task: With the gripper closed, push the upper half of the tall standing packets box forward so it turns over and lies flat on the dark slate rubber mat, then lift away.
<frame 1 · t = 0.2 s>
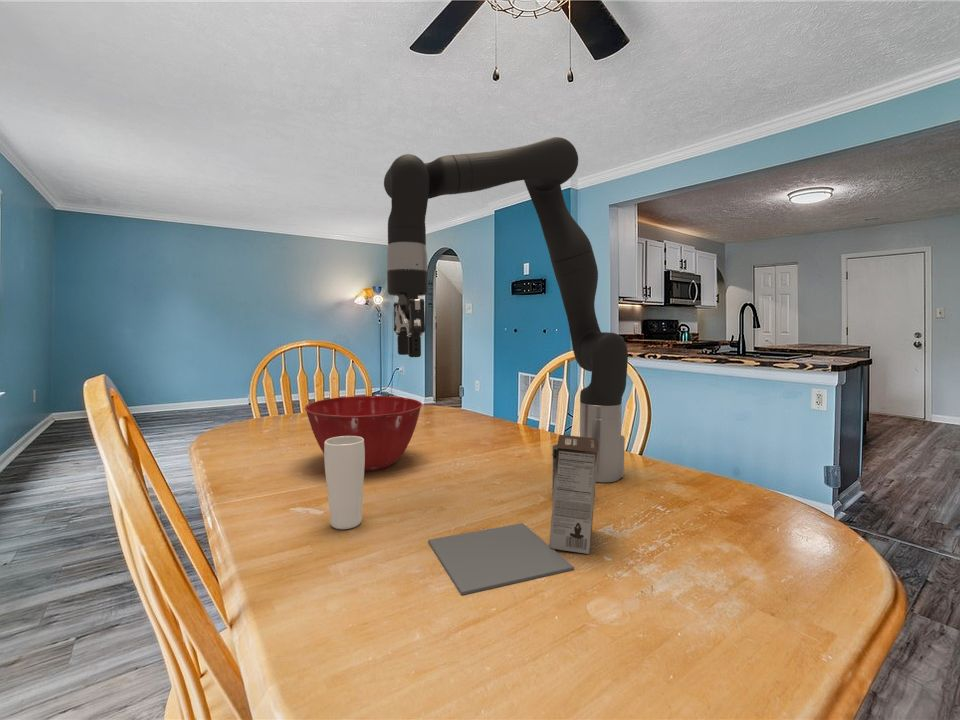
hand: (408, 355, 88), 29 cm above the table, fingers open, 8 cm apart
mixing bowl: (366, 464, 118), on the table
supplement container: (568, 499, 94), on the table
slate mat: (496, 555, 70), on the table
coffee box: (569, 540, 75), on the table, touching slate mat
drinking glass: (346, 525, 82), on the table
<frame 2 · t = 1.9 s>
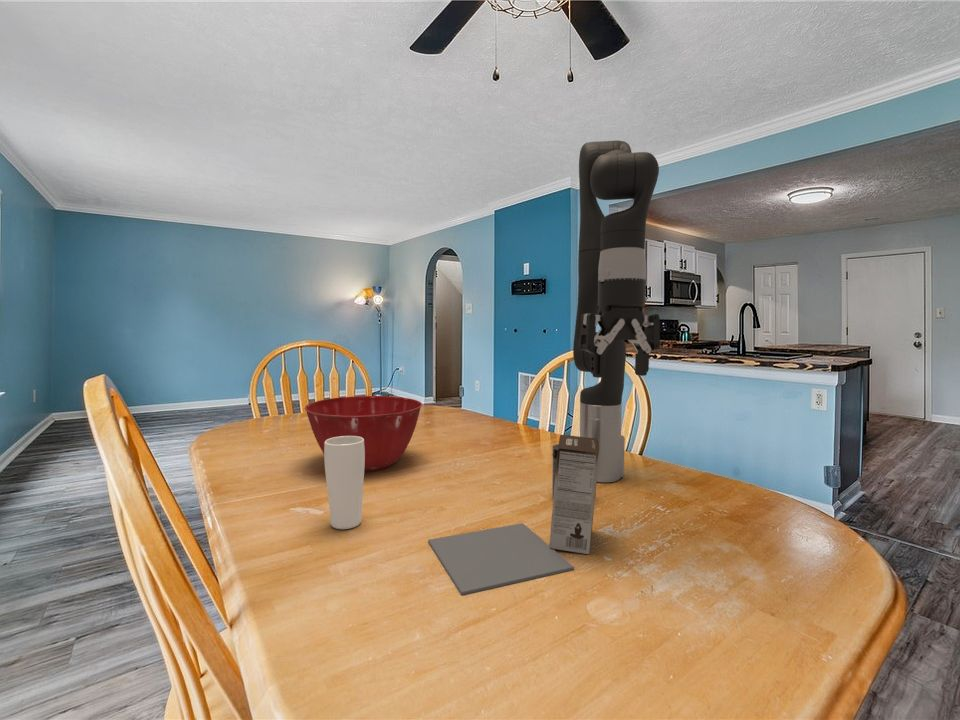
hand: (619, 376, 78), 26 cm above the table, fingers open, 8 cm apart
nothing on the table moved.
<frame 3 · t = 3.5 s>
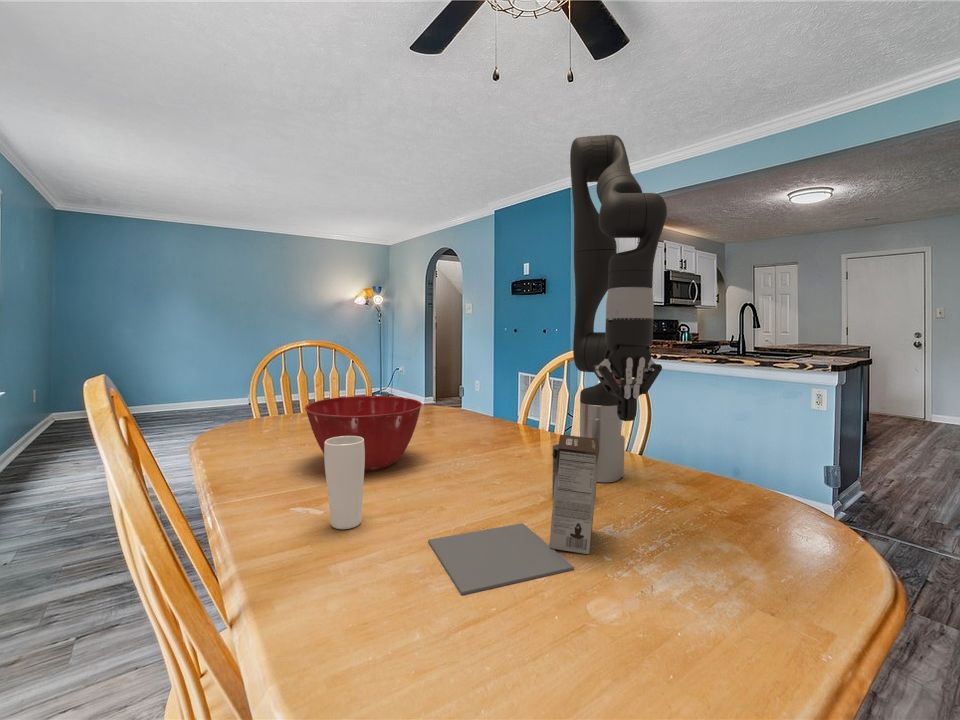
hand: (626, 420, 78), 19 cm above the table, fingers closed
nothing on the table moved.
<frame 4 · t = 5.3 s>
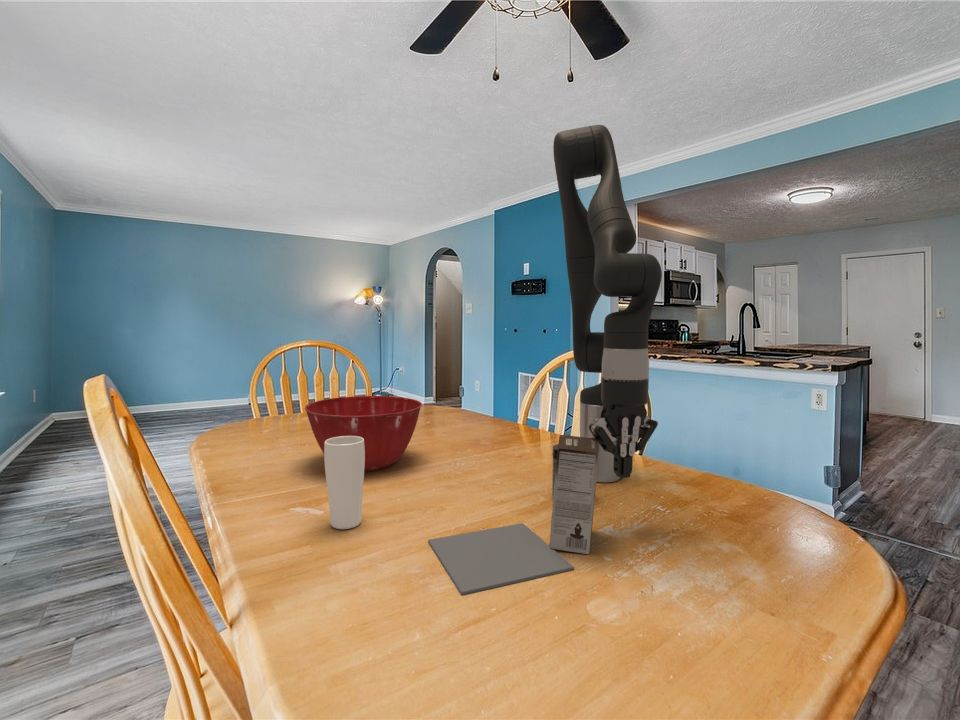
hand: (622, 476, 79), 9 cm above the table, fingers closed
coffee box: (569, 540, 75), on the table, touching hand, slate mat
everything else where it was.
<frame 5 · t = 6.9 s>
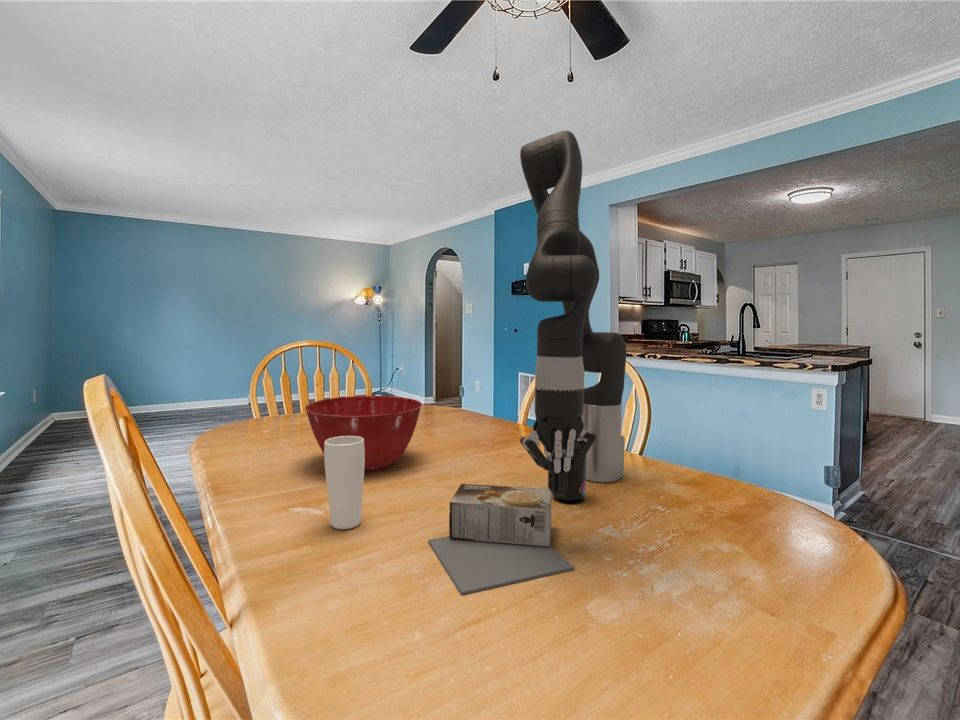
hand: (557, 493, 74), 8 cm above the table, fingers closed
coffee box: (552, 516, 76), point 4 cm above the table, touching slate mat
everything else where it was.
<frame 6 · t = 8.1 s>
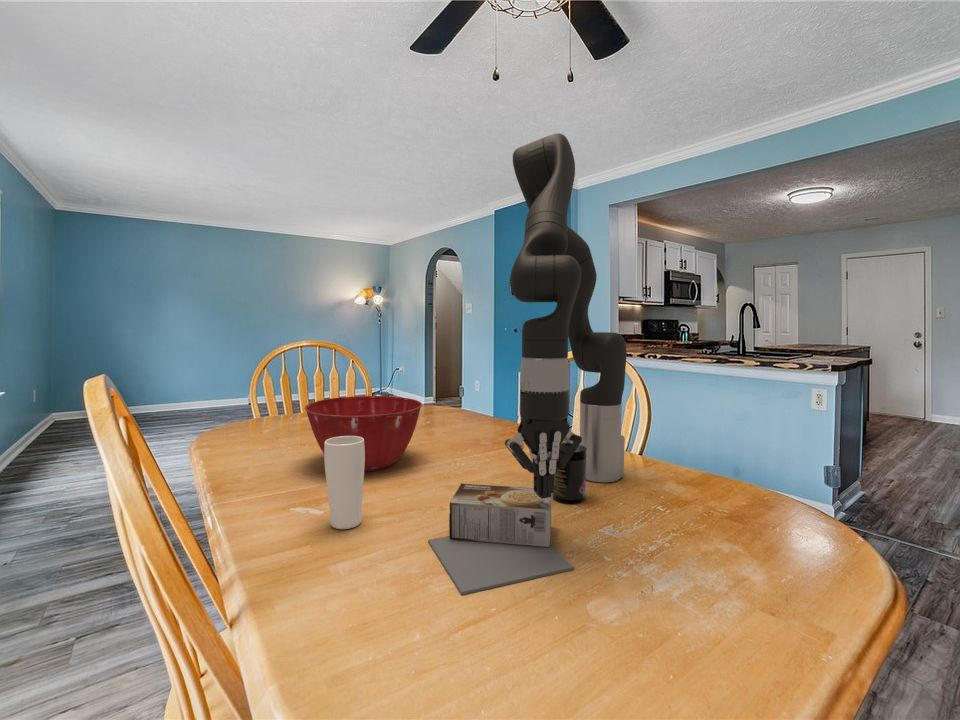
hand: (543, 496, 73), 8 cm above the table, fingers closed
nothing on the table moved.
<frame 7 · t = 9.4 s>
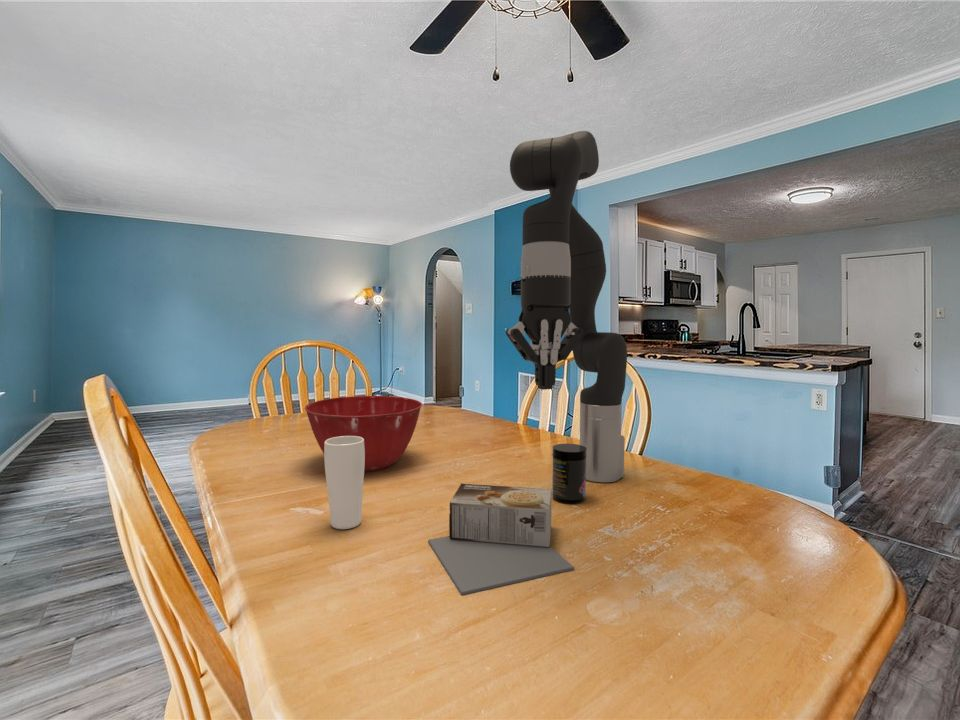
hand: (544, 388, 72), 25 cm above the table, fingers closed
nothing on the table moved.
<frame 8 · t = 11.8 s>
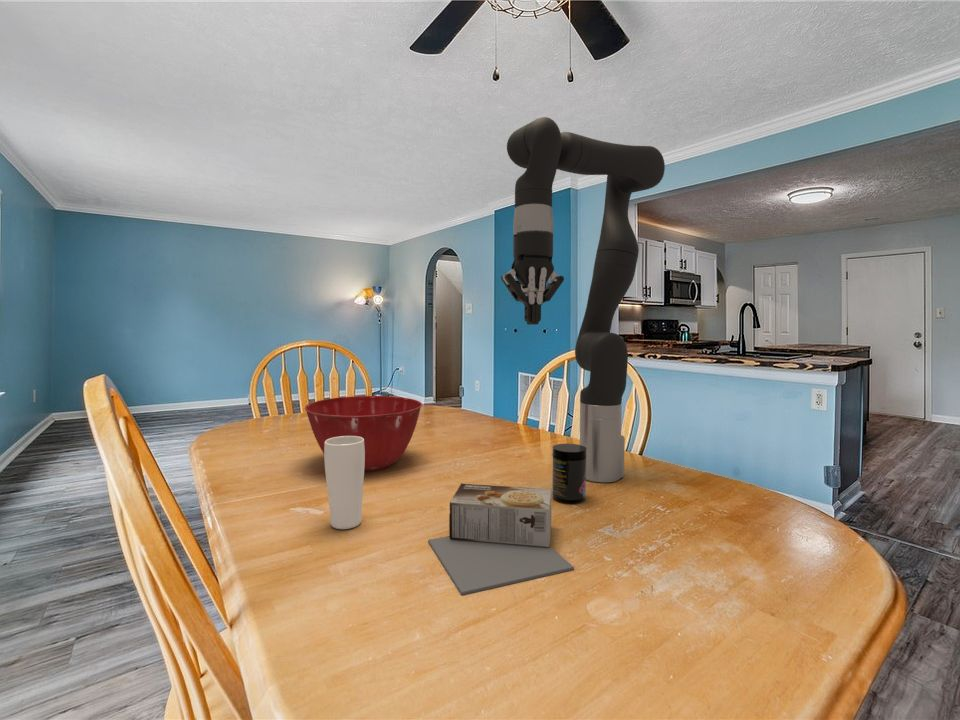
hand: (532, 324, 89), 35 cm above the table, fingers closed
nothing on the table moved.
at the end: coffee box tilted 90°; coffee box touching slate mat; the gripper is holding nothing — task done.
